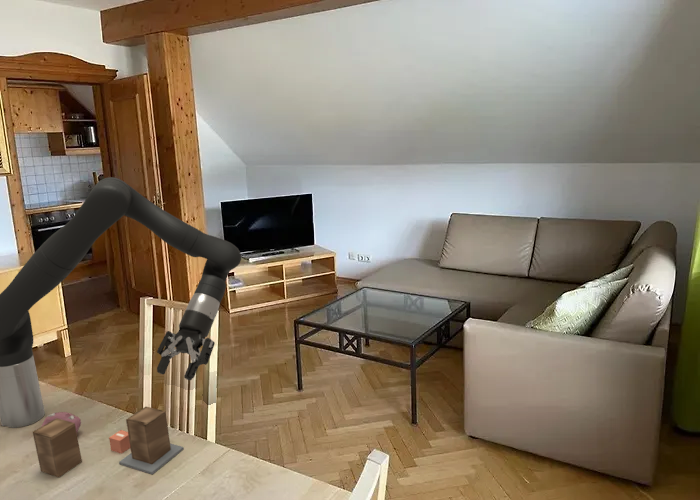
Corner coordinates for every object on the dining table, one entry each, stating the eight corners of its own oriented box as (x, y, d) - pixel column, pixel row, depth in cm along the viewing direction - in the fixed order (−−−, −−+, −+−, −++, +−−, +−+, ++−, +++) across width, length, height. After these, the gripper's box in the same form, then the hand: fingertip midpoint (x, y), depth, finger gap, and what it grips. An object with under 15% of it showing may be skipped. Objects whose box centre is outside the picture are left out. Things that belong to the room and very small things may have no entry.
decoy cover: (40, 471, 124) (32, 431, 122) (64, 456, 129) (56, 418, 127) (59, 477, 122) (50, 437, 119) (82, 461, 127) (74, 423, 124)
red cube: (111, 450, 131) (108, 437, 130) (122, 442, 134) (120, 429, 133) (121, 454, 129) (119, 440, 128) (133, 445, 132) (131, 432, 131)
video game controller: (80, 442, 137) (85, 413, 139) (67, 445, 133) (72, 415, 134) (48, 438, 140) (52, 410, 141) (33, 440, 135) (39, 411, 137)
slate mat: (119, 464, 125) (118, 461, 125) (151, 440, 134) (151, 438, 134) (152, 474, 121) (152, 472, 121) (183, 449, 130) (183, 447, 130)
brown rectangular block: (132, 458, 126) (125, 419, 124) (151, 444, 131) (145, 406, 129) (152, 464, 124) (145, 424, 121) (170, 449, 129) (165, 411, 126)
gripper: (169, 305, 139) (141, 366, 132) (214, 311, 133) (187, 375, 126) (186, 317, 145) (160, 376, 138) (230, 324, 139) (205, 386, 132)
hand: (173, 376), depth 132 cm, fingers open, 8 cm apart
